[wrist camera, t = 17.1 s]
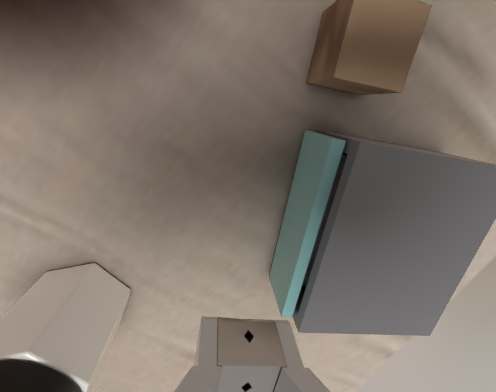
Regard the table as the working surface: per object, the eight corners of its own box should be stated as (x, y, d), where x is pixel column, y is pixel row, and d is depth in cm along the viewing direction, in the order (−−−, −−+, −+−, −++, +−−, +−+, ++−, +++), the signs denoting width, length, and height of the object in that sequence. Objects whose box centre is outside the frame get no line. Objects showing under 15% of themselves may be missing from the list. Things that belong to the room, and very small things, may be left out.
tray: (305, 130, 22) (332, 138, 17) (427, 152, 24) (483, 165, 19) (269, 276, 27) (281, 316, 22) (372, 283, 29) (405, 321, 24)
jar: (18, 295, 24) (-152, 461, 13) (76, 246, 23) (-53, 380, 12) (94, 341, 27) (11, 507, 16) (148, 300, 26) (100, 446, 15)
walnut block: (323, 12, 19) (358, -18, 14) (380, 28, 20) (432, 5, 15) (306, 82, 20) (333, 77, 16) (360, 94, 21) (401, 92, 17)
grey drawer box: (317, 129, 22) (360, 141, 15) (439, 152, 24) (522, 170, 18) (278, 277, 27) (298, 332, 21) (382, 284, 30) (429, 335, 23)
